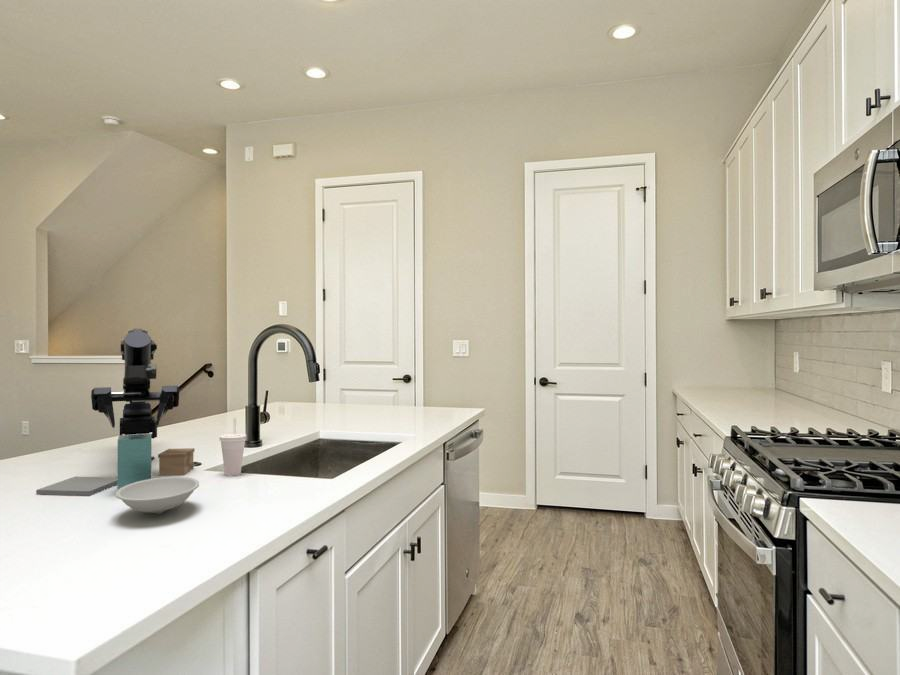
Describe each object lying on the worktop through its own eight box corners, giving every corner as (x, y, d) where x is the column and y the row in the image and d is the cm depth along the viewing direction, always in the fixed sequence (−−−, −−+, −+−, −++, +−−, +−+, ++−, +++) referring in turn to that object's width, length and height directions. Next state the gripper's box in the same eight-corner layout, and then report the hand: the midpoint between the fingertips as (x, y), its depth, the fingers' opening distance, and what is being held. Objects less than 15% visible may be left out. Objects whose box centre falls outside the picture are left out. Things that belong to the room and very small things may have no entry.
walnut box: (168, 468, 153) (168, 448, 153) (194, 468, 154) (194, 448, 154) (157, 475, 146) (158, 454, 146) (185, 475, 147) (185, 454, 147)
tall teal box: (118, 488, 133) (119, 435, 133) (151, 485, 136) (151, 433, 136) (117, 495, 128) (117, 440, 127) (151, 492, 130) (151, 438, 130)
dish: (137, 501, 124) (137, 477, 124) (209, 499, 126) (209, 475, 126) (99, 528, 106) (99, 501, 106) (183, 525, 108) (183, 498, 108)
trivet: (74, 480, 140) (74, 476, 140) (123, 482, 139) (123, 477, 139) (36, 494, 128) (36, 489, 128) (89, 495, 127) (89, 491, 127)
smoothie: (251, 472, 150) (252, 417, 149) (232, 478, 144) (233, 420, 144) (232, 470, 152) (233, 415, 152) (213, 475, 146) (213, 419, 146)
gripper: (92, 353, 139) (87, 405, 129) (179, 353, 148) (180, 402, 138) (94, 384, 146) (90, 435, 137) (177, 382, 155) (179, 430, 145)
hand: (135, 425), depth 139 cm, fingers open, 9 cm apart
